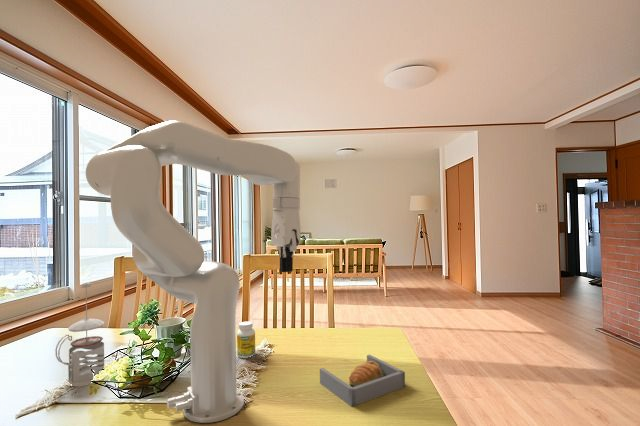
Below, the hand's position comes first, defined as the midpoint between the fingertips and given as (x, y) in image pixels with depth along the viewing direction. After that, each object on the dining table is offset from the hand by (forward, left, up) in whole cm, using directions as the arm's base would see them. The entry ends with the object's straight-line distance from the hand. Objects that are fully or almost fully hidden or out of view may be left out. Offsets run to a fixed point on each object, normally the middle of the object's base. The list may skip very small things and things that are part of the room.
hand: (286, 271), depth 97 cm
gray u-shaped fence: (+10, -19, -26) cm, 34 cm away
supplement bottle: (-7, +15, -27) cm, 31 cm away
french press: (-48, +24, -27) cm, 59 cm away
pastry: (+13, -18, -27) cm, 35 cm away
